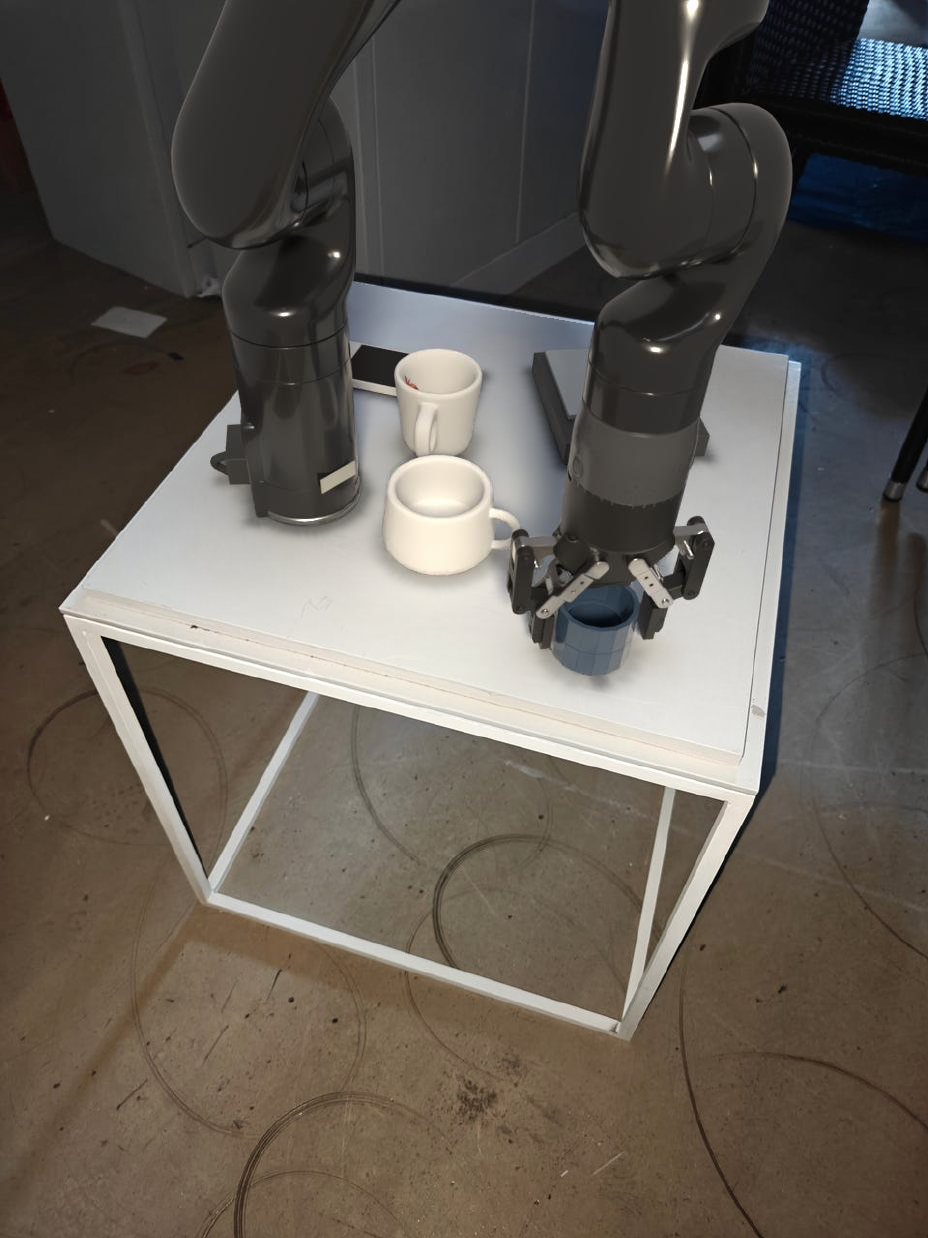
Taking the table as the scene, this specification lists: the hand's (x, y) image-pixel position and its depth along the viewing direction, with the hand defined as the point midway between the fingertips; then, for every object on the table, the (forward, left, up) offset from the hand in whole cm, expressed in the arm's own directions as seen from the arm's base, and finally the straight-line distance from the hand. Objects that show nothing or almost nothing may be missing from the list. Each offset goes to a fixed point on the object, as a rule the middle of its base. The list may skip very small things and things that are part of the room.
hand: (593, 635), depth 68 cm
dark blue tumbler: (0, 0, -2) cm, 2 cm away
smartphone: (-11, +39, -2) cm, 41 cm away
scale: (+10, +31, -2) cm, 33 cm away
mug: (-9, +13, -2) cm, 16 cm away
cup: (-9, +26, -2) cm, 28 cm away
